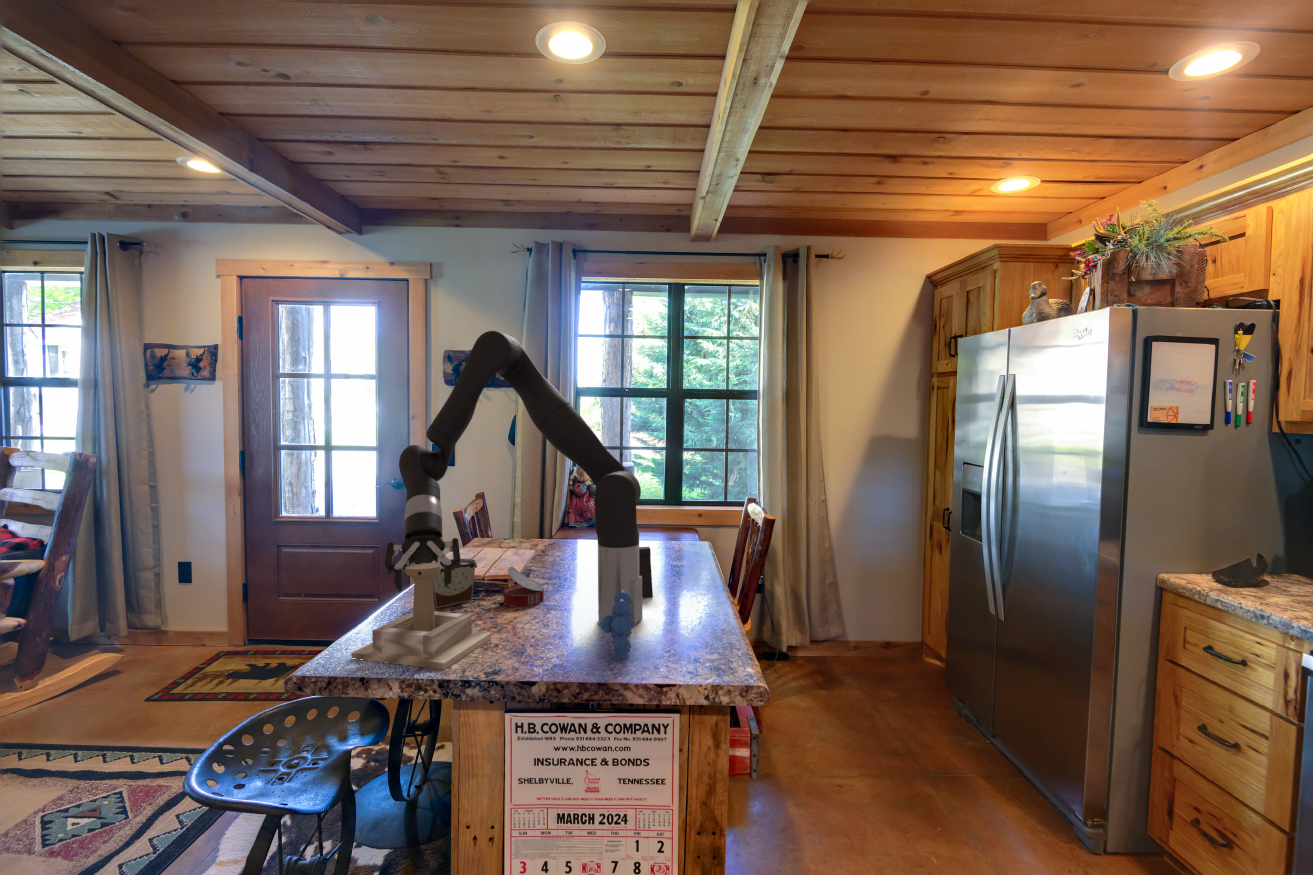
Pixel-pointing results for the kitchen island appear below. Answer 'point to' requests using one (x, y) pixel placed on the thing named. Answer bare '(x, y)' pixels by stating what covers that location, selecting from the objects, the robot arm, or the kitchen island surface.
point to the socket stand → (424, 642)
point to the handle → (423, 595)
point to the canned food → (523, 591)
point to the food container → (455, 584)
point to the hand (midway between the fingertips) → (423, 587)
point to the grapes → (619, 624)
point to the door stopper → (645, 571)
